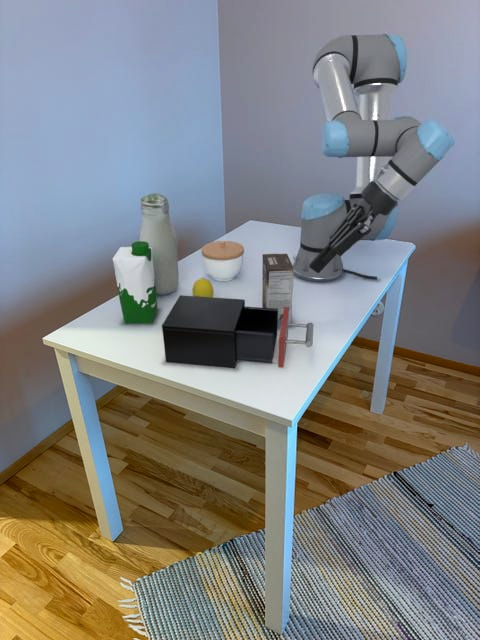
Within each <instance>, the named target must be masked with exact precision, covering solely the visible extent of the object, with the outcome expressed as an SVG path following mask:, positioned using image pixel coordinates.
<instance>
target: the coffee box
mask: <svg viewBox="0 0 480 640" xmlns="http://www.w3.org/2000/svg"><path fill="white" fill-rule="evenodd" d="M261 255H262V289H261V290H262V305H261V306H262V307H261V308H274V309H278V328H281V323H282V317H283V311H284V307H289V323H292V309H293V291H294V275H295V274H294V268H293V263H292V261H291V259H290V257H289V255H288V253H264V254H261ZM289 327H290V326H289ZM289 327H288V328H289ZM290 328H291V327H290Z"/></svg>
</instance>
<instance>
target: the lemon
mask: <svg viewBox="0 0 480 640" xmlns="http://www.w3.org/2000/svg"><path fill="white" fill-rule="evenodd" d="M192 296H198V297H213V298H214V287H213V284H212V282H211V281H210V280H209V279H207V278H204V277H201V278H198V279H197V280H196V281H194V284H193V285H192Z"/></svg>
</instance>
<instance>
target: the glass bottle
mask: <svg viewBox="0 0 480 640" xmlns="http://www.w3.org/2000/svg"><path fill="white" fill-rule="evenodd" d="M169 210H170V203H169V201H168V198H167V197H166V196H165V195H164V194H161V193H150V194H147V195H144V196H143V197H141V198H140V211H141V214H142V215H141V226H140V232H139V239H138V242H139V241H144V242H147V243H148V245H149V247H152V258H153V268H154V276H155V285H156V293H157V296H158V295H162V296H164V295H169V294H172V293H173V292H175V291H176V289H178V286H179V280H180V276H179V275H180V272H179V260H178V239H177V234H176V232H175V228H174V226H173V222H172V220H171V215H170V211H169Z"/></svg>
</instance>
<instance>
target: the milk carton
mask: <svg viewBox="0 0 480 640" xmlns="http://www.w3.org/2000/svg"><path fill="white" fill-rule="evenodd" d="M112 263H113V267H114V268H113V269H114V274H115V275H114V276H115V280H116V287H117V292H118V297H119V304H120V308H121V313H122V317H123V323H124V324H153V323H154V320H155V317H156V315H157V312H158V294H157V293H156V285H155V276H154V268H153V258H152V247H149V245H148V243H147V242H144V241H139V240H138V241H135V242H133V243H131V246H120V247H119V248H118V250H117V251H116V253H115V254H114V255H113V257H112Z"/></svg>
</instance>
